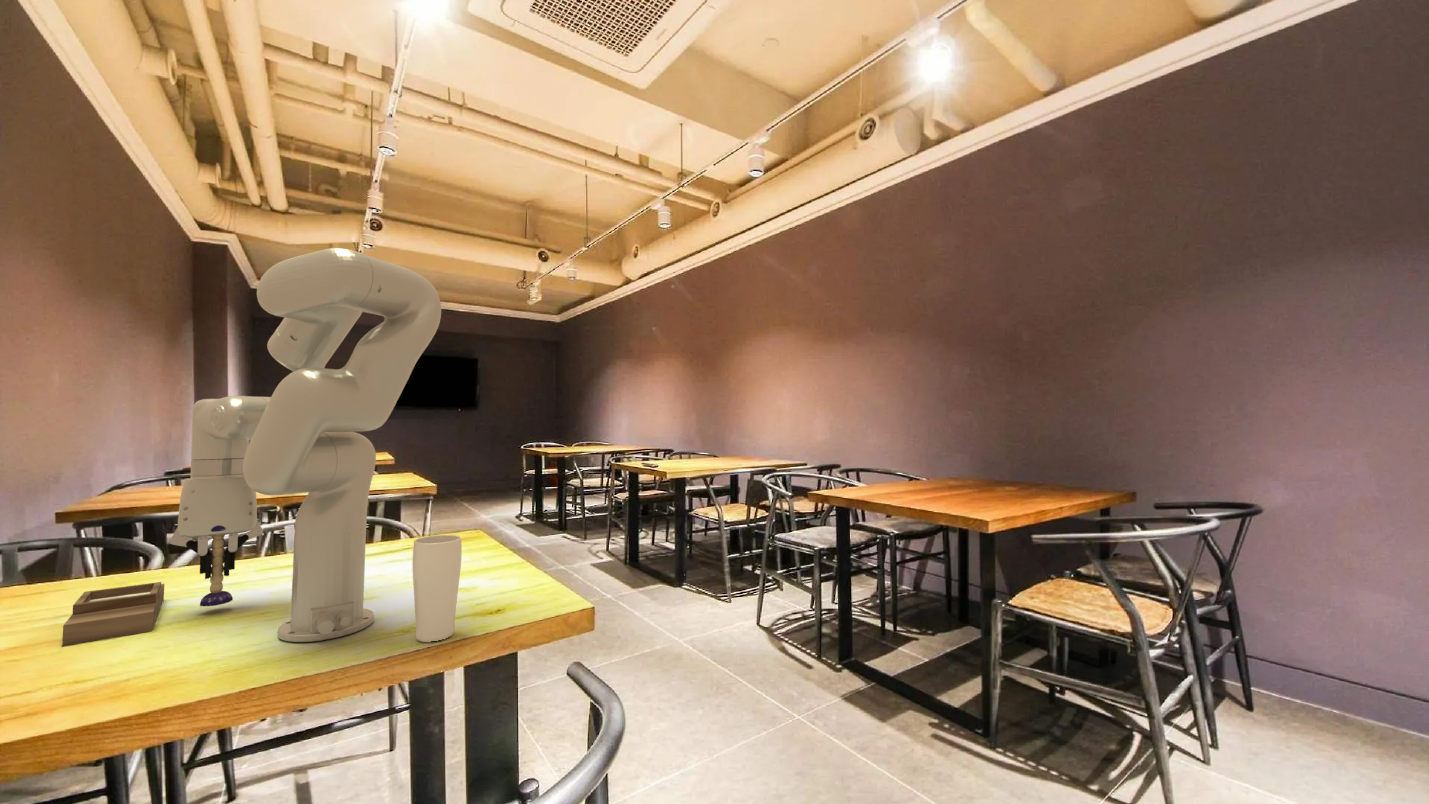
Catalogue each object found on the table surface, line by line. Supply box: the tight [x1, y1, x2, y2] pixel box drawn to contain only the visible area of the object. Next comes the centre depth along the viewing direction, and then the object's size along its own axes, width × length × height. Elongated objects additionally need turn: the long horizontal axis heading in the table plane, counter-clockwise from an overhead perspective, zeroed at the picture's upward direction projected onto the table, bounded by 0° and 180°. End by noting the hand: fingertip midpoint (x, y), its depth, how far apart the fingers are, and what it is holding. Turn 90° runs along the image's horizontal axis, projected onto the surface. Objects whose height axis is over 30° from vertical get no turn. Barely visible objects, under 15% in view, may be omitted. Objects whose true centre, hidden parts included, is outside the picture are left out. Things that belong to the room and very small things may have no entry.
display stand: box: [61, 581, 165, 647], centre depth 91 cm, size 20×9×4 cm, turn 42°
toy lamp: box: [199, 525, 234, 607], centre depth 95 cm, size 5×5×17 cm
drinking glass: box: [412, 534, 462, 643], centre depth 85 cm, size 7×7×15 cm
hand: (217, 575), depth 95 cm, fingers closed on toy lamp
